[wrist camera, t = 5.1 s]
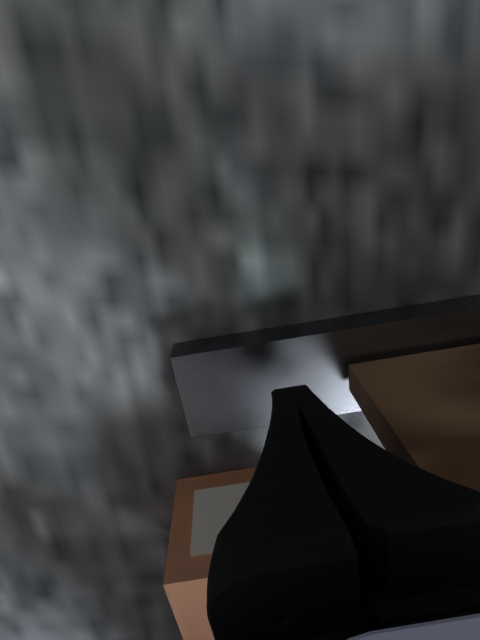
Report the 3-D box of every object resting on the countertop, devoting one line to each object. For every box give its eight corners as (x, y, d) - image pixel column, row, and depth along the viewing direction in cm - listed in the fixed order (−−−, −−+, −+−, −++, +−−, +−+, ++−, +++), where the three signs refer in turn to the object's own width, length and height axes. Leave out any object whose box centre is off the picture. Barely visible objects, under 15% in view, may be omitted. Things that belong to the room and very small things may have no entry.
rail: (192, 420, 16) (190, 438, 15) (173, 344, 15) (170, 358, 14) (703, 337, 16) (739, 349, 15) (738, 252, 15) (780, 259, 14)
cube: (196, 543, 20) (189, 657, 15) (176, 475, 18) (161, 581, 13) (284, 530, 20) (304, 638, 15) (274, 459, 18) (294, 560, 13)
